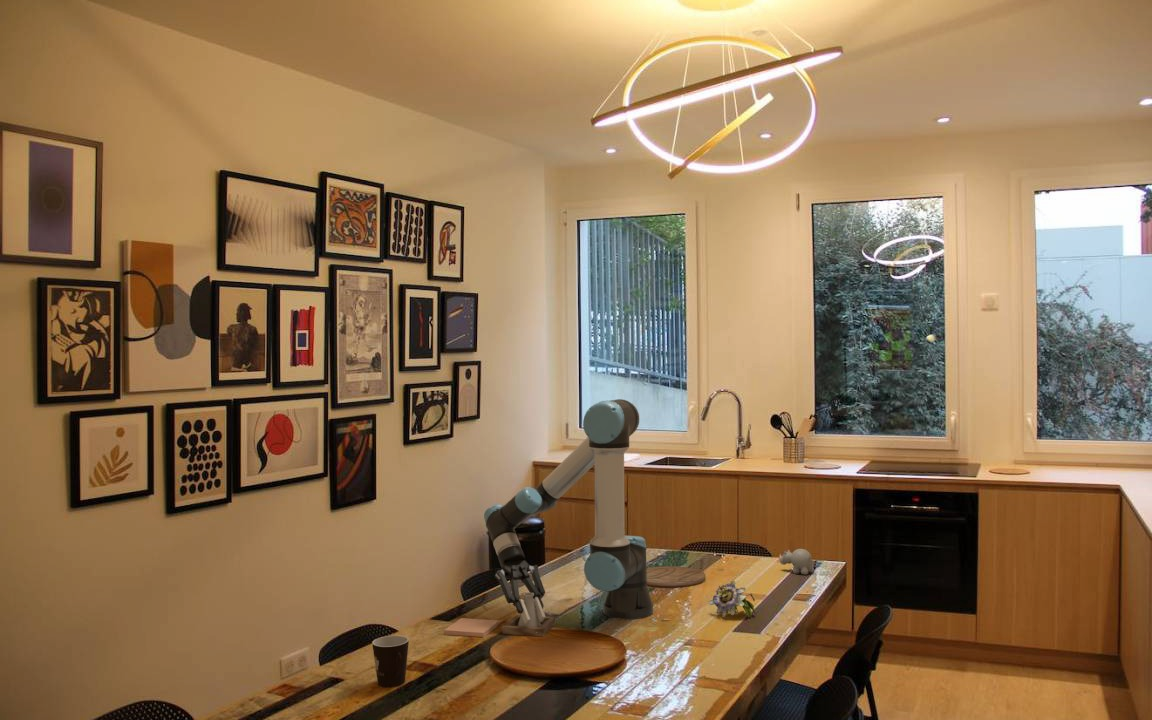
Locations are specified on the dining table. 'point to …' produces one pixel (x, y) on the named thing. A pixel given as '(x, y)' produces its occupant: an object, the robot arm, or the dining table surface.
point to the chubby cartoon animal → (798, 561)
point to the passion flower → (731, 600)
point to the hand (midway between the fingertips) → (535, 620)
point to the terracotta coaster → (471, 627)
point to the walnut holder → (530, 631)
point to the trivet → (674, 577)
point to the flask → (530, 612)
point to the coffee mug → (390, 660)
